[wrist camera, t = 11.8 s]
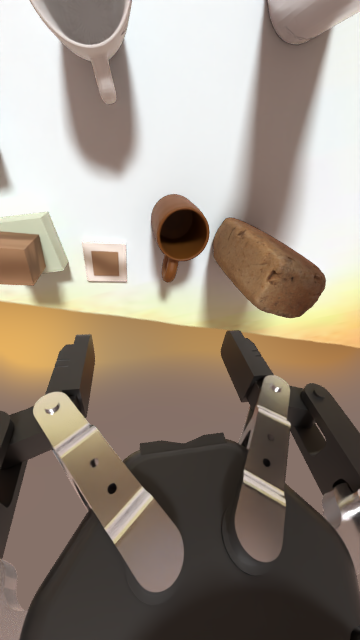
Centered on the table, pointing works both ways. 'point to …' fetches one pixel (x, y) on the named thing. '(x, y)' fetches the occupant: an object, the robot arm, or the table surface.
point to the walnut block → (20, 258)
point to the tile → (105, 261)
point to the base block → (46, 232)
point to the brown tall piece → (267, 269)
